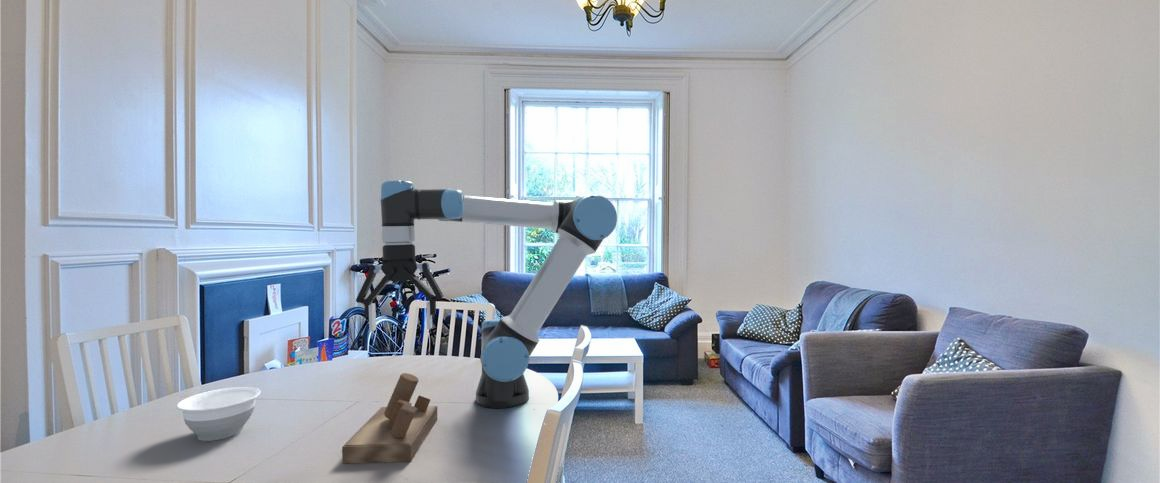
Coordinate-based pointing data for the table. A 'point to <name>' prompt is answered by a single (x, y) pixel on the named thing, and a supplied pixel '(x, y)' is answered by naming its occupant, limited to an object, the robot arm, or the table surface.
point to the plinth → (388, 439)
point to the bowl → (219, 411)
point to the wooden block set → (403, 405)
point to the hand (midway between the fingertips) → (401, 329)
